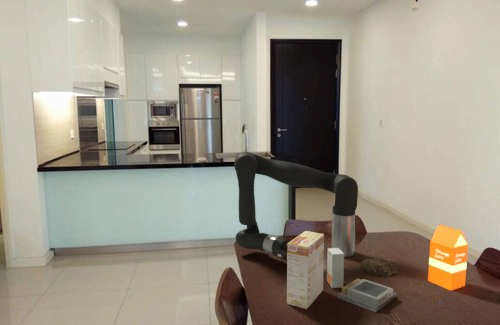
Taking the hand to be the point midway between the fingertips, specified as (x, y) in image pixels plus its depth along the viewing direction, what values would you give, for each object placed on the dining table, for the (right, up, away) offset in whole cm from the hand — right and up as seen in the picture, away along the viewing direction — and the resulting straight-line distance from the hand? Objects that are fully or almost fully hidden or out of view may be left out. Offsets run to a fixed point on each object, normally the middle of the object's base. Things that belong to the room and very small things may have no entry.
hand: (311, 257), depth 137 cm
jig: (+15, -9, -16) cm, 24 cm away
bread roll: (+26, -7, +6) cm, 28 cm away
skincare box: (+7, -8, -6) cm, 12 cm away
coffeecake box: (-4, -9, -15) cm, 18 cm away
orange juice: (+46, -8, -5) cm, 47 cm away
